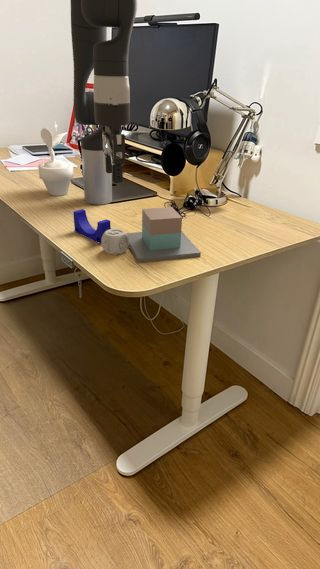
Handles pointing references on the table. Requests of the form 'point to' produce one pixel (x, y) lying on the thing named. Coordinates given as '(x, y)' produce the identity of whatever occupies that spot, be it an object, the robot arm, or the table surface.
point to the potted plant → (55, 167)
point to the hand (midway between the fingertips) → (114, 177)
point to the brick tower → (161, 237)
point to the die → (115, 241)
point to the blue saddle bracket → (89, 226)
